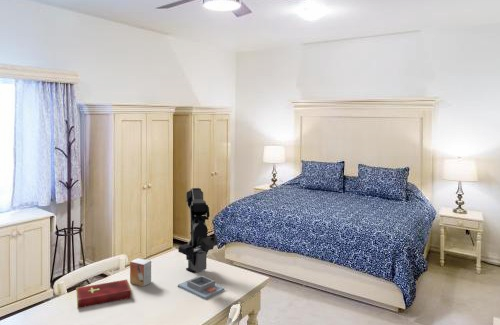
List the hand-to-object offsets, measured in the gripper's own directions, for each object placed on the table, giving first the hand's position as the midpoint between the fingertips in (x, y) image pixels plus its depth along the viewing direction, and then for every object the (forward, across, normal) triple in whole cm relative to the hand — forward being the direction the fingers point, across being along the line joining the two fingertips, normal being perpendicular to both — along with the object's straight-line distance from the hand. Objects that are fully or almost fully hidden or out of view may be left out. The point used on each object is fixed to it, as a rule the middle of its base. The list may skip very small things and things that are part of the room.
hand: (198, 263), depth 168 cm
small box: (+12, -14, +24) cm, 31 cm away
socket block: (+12, +1, -1) cm, 12 cm away
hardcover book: (+13, -33, +23) cm, 42 cm away
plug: (+2, 0, 0) cm, 2 cm away
